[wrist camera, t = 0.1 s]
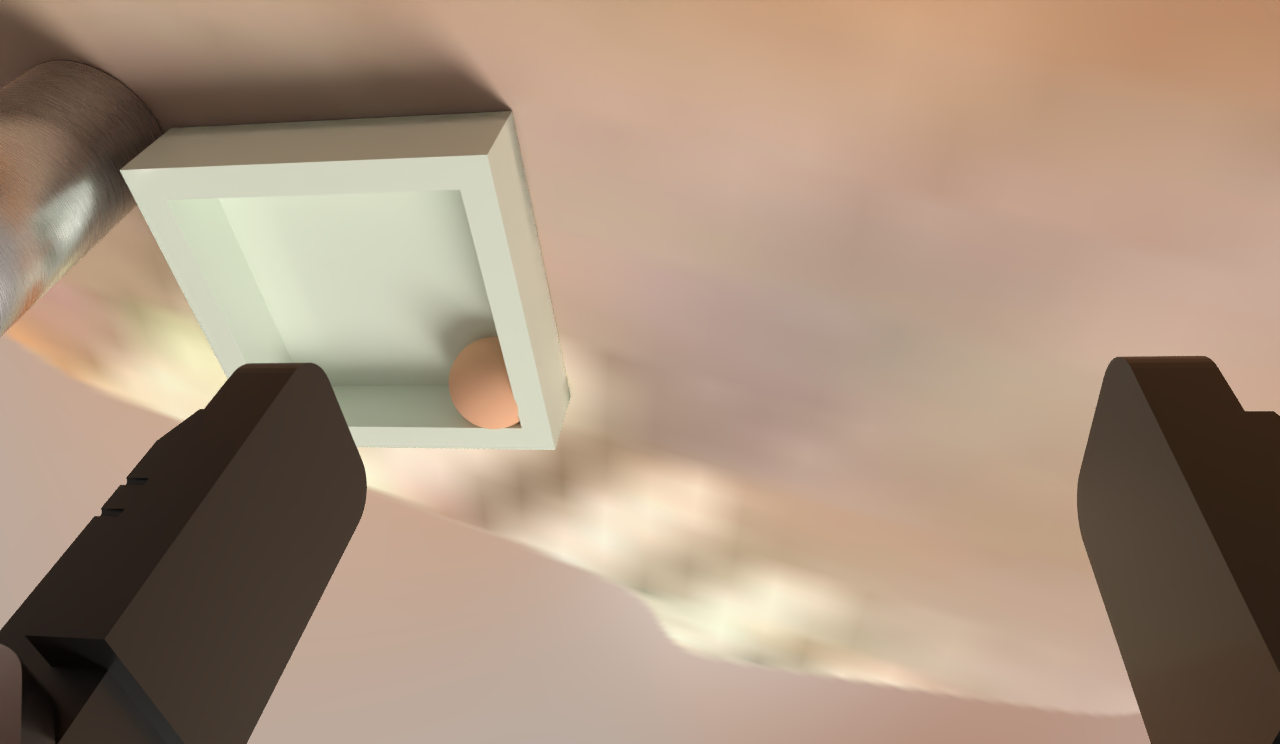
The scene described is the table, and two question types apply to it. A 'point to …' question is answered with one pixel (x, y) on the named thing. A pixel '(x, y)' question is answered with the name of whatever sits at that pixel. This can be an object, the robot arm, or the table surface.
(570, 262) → the table surface
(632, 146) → the table surface
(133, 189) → the tray
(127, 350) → the table surface
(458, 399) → the ball
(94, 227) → the cylinder
